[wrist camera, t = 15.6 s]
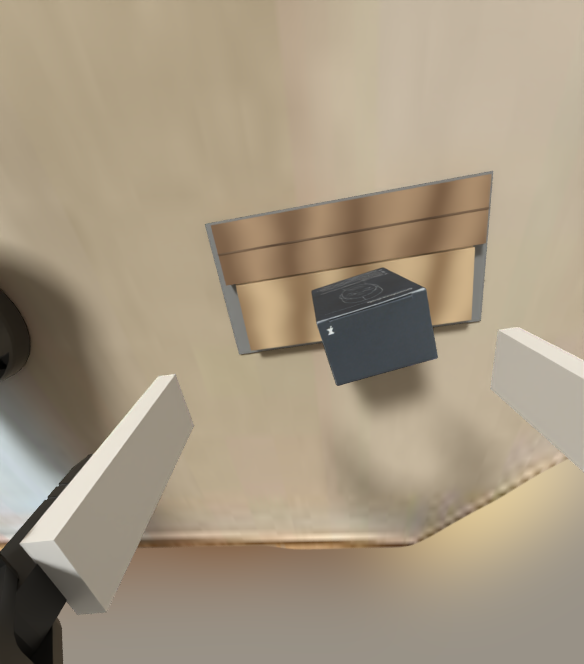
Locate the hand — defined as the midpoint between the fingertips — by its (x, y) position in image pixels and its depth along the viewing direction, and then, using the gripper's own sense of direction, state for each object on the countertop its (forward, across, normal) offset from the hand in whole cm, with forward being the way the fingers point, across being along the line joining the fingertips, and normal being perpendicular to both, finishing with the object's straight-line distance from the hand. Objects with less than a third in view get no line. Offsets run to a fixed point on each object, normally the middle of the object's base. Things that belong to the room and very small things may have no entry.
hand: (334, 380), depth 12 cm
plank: (+20, +4, -3) cm, 21 cm away
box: (+19, +4, -3) cm, 20 cm away
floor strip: (+21, +4, +4) cm, 22 cm away
